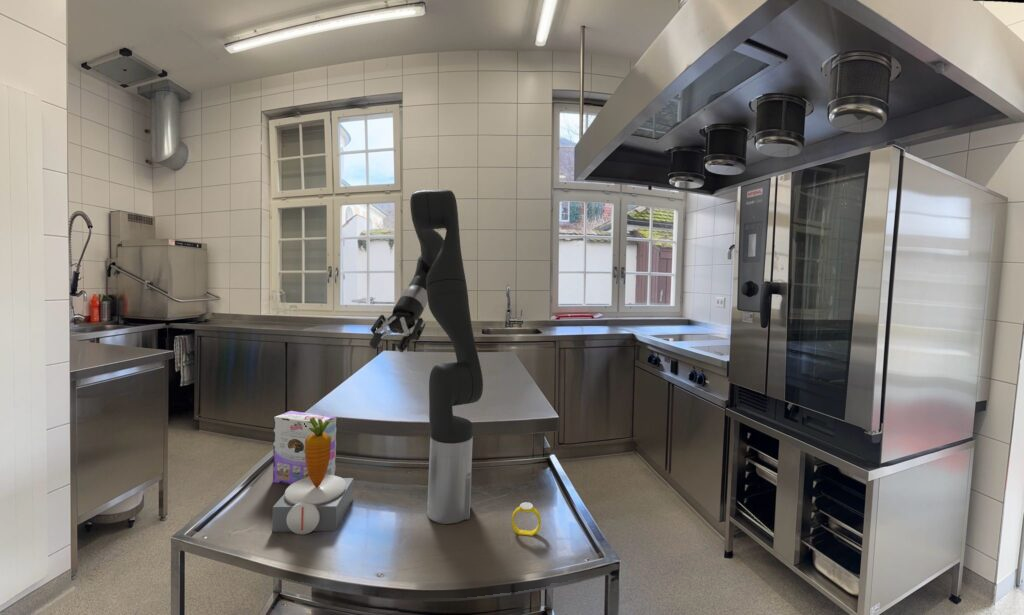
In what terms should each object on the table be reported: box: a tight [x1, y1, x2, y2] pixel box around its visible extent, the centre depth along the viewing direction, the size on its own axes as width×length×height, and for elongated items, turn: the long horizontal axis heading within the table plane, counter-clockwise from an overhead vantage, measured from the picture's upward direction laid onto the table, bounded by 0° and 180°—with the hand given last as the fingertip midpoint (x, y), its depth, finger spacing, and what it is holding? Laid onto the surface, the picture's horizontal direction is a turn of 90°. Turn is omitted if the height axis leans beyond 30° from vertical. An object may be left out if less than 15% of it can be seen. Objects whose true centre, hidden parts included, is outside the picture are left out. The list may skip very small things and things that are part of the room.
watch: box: [510, 502, 542, 537], centre depth 83 cm, size 6×3×6 cm, turn 84°
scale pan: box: [284, 475, 346, 505], centre depth 86 cm, size 12×12×1 cm
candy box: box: [272, 410, 338, 486], centre depth 99 cm, size 14×6×16 cm, turn 77°
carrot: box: [305, 417, 331, 487], centre depth 85 cm, size 5×5×15 cm
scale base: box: [271, 477, 354, 535], centre depth 85 cm, size 12×13×6 cm
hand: (386, 348), depth 106 cm, fingers open, 8 cm apart
